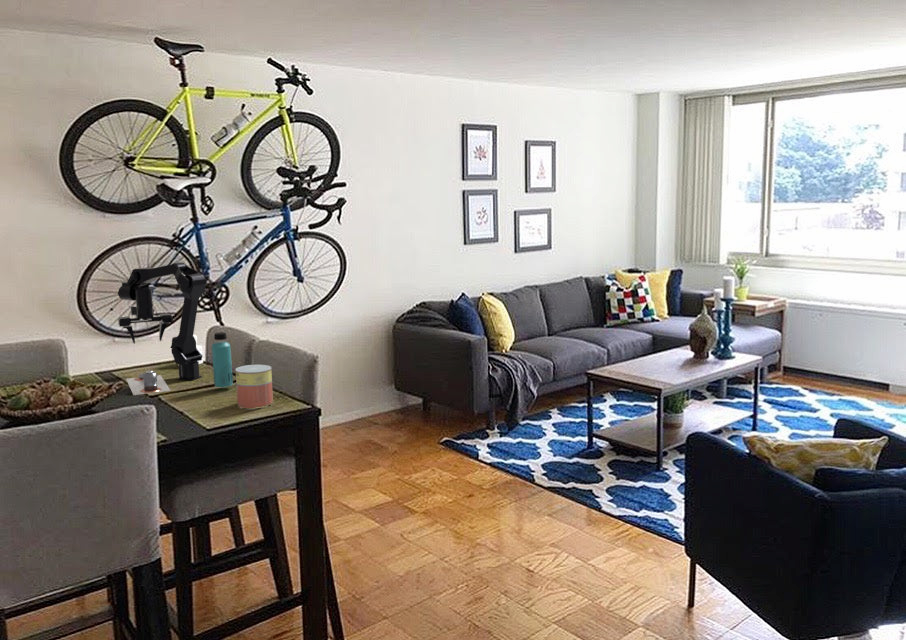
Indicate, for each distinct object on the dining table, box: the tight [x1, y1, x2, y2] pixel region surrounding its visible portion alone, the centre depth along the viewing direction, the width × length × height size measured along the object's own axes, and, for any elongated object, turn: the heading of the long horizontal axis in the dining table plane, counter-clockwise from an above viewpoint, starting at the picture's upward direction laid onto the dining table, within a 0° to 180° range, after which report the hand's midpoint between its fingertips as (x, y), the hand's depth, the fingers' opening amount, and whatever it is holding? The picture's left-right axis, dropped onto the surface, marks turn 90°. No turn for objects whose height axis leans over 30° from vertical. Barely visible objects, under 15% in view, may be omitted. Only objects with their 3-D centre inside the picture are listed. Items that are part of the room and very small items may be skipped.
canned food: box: [235, 363, 274, 409], centre depth 246 cm, size 11×11×12 cm
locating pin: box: [142, 370, 158, 392], centre depth 265 cm, size 4×4×7 cm
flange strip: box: [125, 372, 171, 396], centre depth 274 cm, size 26×12×2 cm, turn 28°
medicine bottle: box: [177, 334, 204, 366], centre depth 304 cm, size 7×7×12 cm
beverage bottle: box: [211, 332, 234, 388], centre depth 265 cm, size 6×7×20 cm
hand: (147, 342), depth 289 cm, fingers open, 9 cm apart
